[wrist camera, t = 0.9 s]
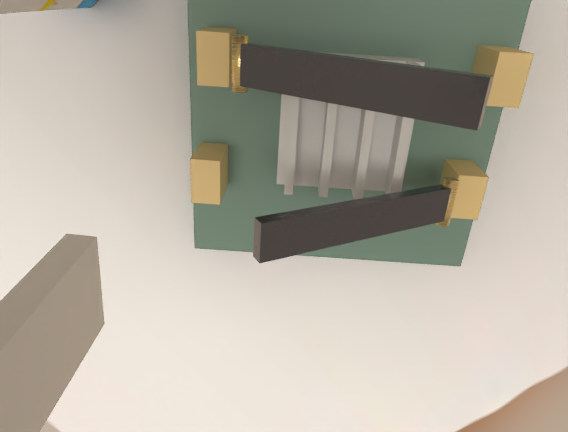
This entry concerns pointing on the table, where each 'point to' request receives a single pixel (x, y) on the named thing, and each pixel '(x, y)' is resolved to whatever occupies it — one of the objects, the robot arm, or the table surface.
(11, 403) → the robot arm
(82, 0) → the ink box
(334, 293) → the table surface
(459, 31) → the board
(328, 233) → the strap
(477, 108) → the strap
